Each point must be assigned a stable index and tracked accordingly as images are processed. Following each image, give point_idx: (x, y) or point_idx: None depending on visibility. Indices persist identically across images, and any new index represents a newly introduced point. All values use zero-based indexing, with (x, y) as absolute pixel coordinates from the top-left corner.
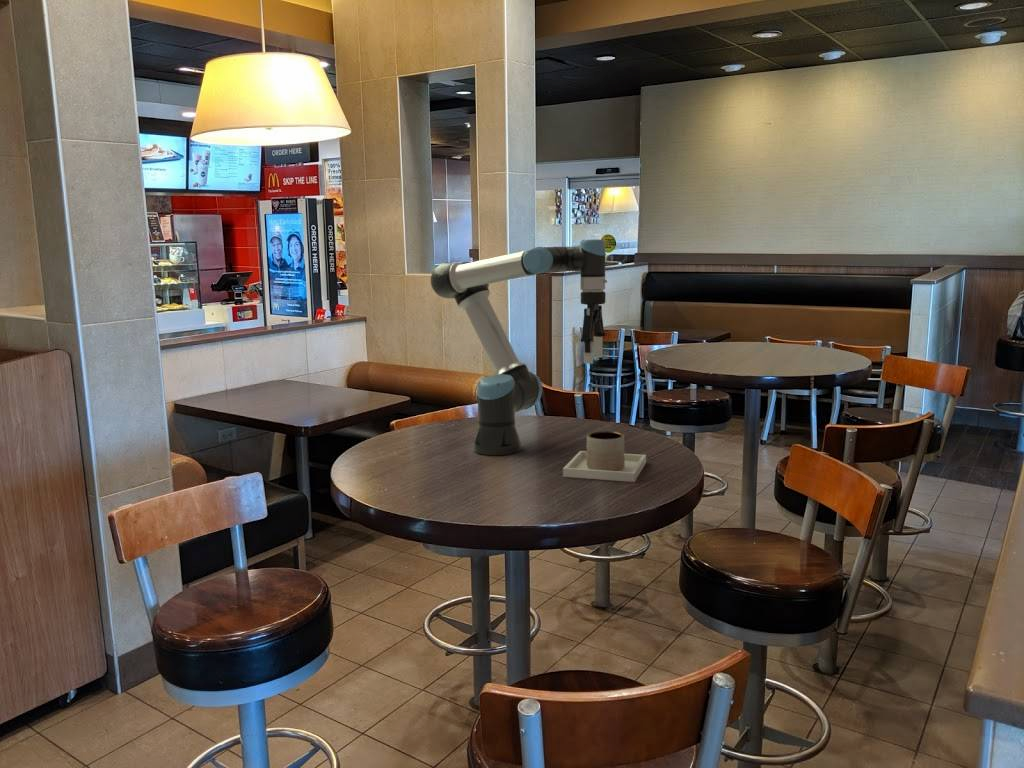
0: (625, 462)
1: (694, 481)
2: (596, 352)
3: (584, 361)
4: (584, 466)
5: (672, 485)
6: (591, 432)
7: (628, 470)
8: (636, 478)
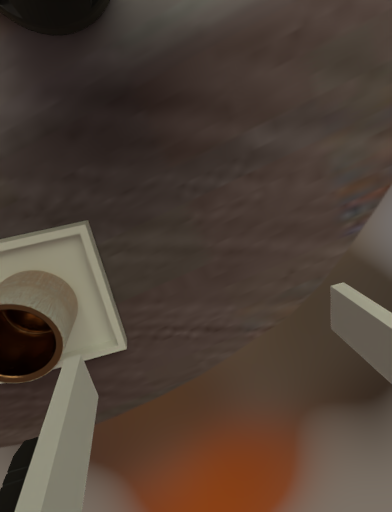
0: (95, 318)
1: None
2: (350, 316)
3: (63, 371)
4: (17, 265)
5: (20, 423)
6: (16, 306)
7: None
8: None
